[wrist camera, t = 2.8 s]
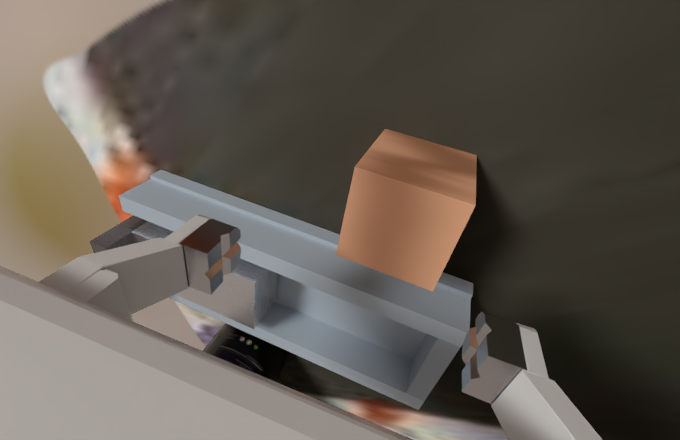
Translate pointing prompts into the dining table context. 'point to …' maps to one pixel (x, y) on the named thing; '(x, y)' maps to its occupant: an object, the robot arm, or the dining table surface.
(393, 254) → the block
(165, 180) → the channel
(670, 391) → the dining table surface
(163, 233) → the grey block
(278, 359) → the supplement bottle
